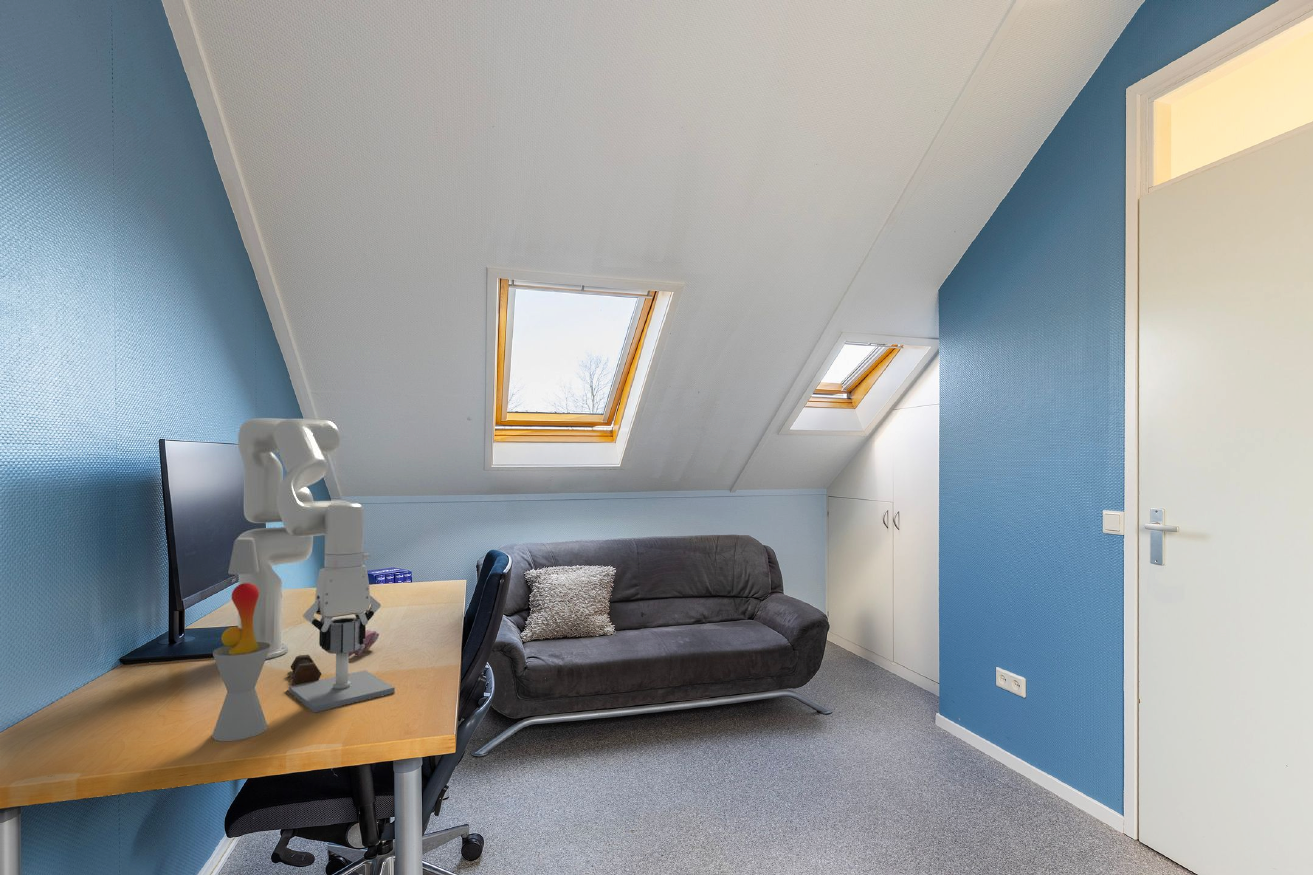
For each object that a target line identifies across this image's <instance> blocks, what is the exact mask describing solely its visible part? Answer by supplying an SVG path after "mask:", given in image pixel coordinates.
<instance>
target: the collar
mask: <svg viewBox="0 0 1313 875" xmlns="http://www.w3.org/2000/svg"><path fill="white" fill-rule="evenodd" d="M328 631H330V650H329V651H325V652H326V653H328V654H333V655H336V654H341V653H348V652H353V651H356V650H357V649H359V648H360V619H358V618H356V617H349V616H348V617H345V616H344V617H337V618H332V620H331V622H330V625H329V627H328Z"/></svg>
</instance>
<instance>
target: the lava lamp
mask: <svg viewBox="0 0 1313 875" xmlns="http://www.w3.org/2000/svg"><path fill="white" fill-rule="evenodd" d="M237 538H238V537H237ZM237 538H236V539H235V540H234V542H233V546H232V552H231V557H230V562H229V567H228V571H227V573H228V575H235V576H236V575H239V574H251V573H256V572H259V568H258V561H257V555H256V548H255V542H254V539H253V538H238V539H237ZM258 597H259V591H258V588H257V587H256V586H255V585H253V584H251V583H243V584H240V585H239V584H238V585H237V586H236V587H235V588H234V589H233V590H232V592H231V601H232V602H233V605H234V607H235V608H236V610H237V612H238V613H239V615H240V618H241V626H242V629H241V628H239V627H238V626H231V627H230V626H229V627H228V628H226V629H225V630H224V631H223V632H222V634H221V642H222V643H223V646H220V647H217V648H215V649H214V650H213V651H212V656H213V658H214V661H215V663H216V666H217V669H218V671H219V674H220V677H221V678H222V682H223V685H224V686H225V689H226V695H225V697H224V701H223V704H222V706H221V708H220V712H219V715H218V718H217V720H216V723H215V726H214V728H213V732H212V735H211V738H212V739H213V738H214V739H213V740H214V741H218V742H234V741H235V742H236V741H240V740H241V741H242V740H245V739H250V738H252V737H255V736H258V735H260V734H262V733H263V732H265V731H266V730H267V729H268V727H269V726H268V724H267V720H266V716H265V715H264V711H263V708H262V705H261V702H260V699H259V696H258V693H257V690H256V685H257V683H258V680H259V677H260V675H261V673H262V670H263V667H264V664H265V662H266V660H267V659H266V657H267V654H268V652H269V649H270V644H269V643H265V642H256V639H255V636H254V631H253V615H254V610H255V606H256V603H257V600H258Z"/></svg>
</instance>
